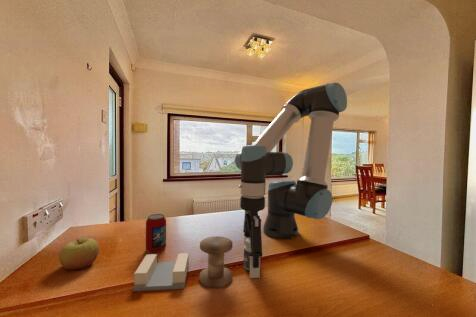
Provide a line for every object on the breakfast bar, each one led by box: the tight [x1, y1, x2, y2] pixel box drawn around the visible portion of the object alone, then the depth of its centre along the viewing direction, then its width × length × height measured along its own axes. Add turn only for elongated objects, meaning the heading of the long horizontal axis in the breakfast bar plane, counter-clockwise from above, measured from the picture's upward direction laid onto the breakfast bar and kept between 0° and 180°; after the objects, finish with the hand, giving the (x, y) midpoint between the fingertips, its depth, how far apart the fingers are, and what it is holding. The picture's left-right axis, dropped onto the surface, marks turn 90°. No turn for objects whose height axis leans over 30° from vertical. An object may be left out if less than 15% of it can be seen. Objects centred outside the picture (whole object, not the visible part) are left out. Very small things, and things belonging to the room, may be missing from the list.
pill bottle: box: [243, 238, 251, 271], centre depth 66 cm, size 5×5×8 cm
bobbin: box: [199, 236, 233, 289], centre depth 60 cm, size 9×9×10 cm
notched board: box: [132, 252, 190, 292], centre depth 61 cm, size 12×12×4 cm
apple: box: [58, 237, 100, 271], centre depth 65 cm, size 10×10×8 cm
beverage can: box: [145, 213, 167, 254], centre depth 77 cm, size 7×7×12 cm
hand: (251, 266), depth 67 cm, fingers open, 11 cm apart
